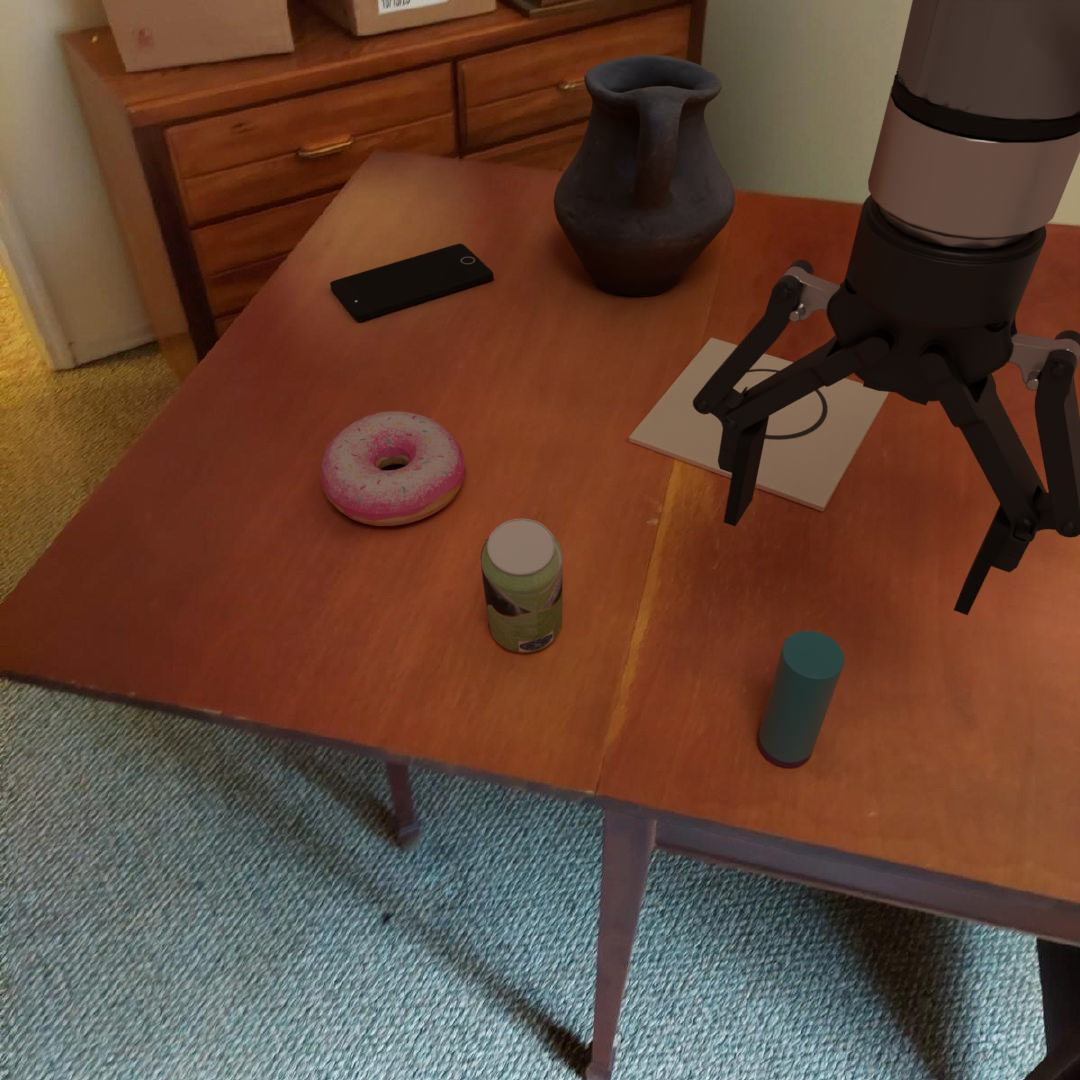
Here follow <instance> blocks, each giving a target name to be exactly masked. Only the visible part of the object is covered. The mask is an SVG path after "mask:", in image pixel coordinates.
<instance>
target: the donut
mask: <svg viewBox="0 0 1080 1080" xmlns="http://www.w3.org/2000/svg"><path fill="white" fill-rule="evenodd" d="M464 455H465V453H463V450H462V448H461V446H460V443H459V442H458V441H457V440H456V438H455V437H454V436H453V434H452V433H451V432H450V430H449V429H448V428H446V427H445V426H444V425H443V424H442V423H440V422H439V421H437V420H435V419H433V418H430V417H428V416H425V415H422V414H419V413H414V412H409V411H400V410H399V411H398V410H391V411H390V410H389V411H381V412H377V413H372V414H369V415H367V416H365V417H362V418H359V419H357V420H356V421H354V422H352V423H350V424H349V425H347V426H346V427H344V428H343V429H341V430H340V431H339V432H338V433H337V434H336V435H335V436H334V437H333V438H332V439H331V441H330V442H329V443H328V444H327V445H326V448H325V450H324V453H323V455H322V457H321V461H320V465H319V476H320V477H319V478H320V483H321V487H322V490H323V492H324V494H325V496H326V498H327V499H328V501H329V502H330V503H331V504H332V505H333V506H334V507H335V508H336V509H337V510H338V511H339V512H340V513H341V514H343V515H345V516H346V517H348V518H349V519H351V520H354V521H356V522H359V523H361V524H365V525H371V526H376V527H393V526H401V525H406V524H410V523H414V522H417V521H420V520H423V519H425V518H427V517H430V516H432V515H435V514H436V513H438V512H439V511H440V510H442V509H443V508H445V507H447V505H448V504H449V503H451V502H452V500H454V498H455V496H456V495H457V493H458V492H459V490H460V489H461V486H462V485H463V483H464V480H465V475H466V463H465V456H464ZM394 465H404V466H403V467H400V468H397V469H390V470H383V468H385V467H388V466H394Z"/></svg>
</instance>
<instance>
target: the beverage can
mask: <svg viewBox="0 0 1080 1080" xmlns="http://www.w3.org/2000/svg"><path fill="white" fill-rule="evenodd" d="M562 549H563V548H562V547H561V544H560V542H559V541H558V539H557V537H556V536H555V535H554V534H553V533H552V532H551V531H550V530H549V528H547V527H546V526H545V525H544V524H542V523H541V522H539V521H537V520H534V519H529V518H514V519H509V520H507V521H504V522H503V523H501V524H499V525H498V526H497V527H496V528H494V529H493V531H492V532H491V533H490V535H489V536H488V537H487V539H486V540H485V542H484V544H483V546H482V549H481V551H480V567H481V576H482V584H483V592H484V600H485V609H486V617H487V626H488V630H489V632H490V635H491V637H492V638H493V639H494V641H495V642H496V644H499V645H500V646H501V647H502V648H504V649H506V650H508V651H510V652H513V653H519V654H529V653H530V654H531V653H536V652H539V651H541V650H543V649H546V648H547V647H548V646H550V645H551V644H552V643H553V642H554V641H555V640H556V639H557V638H558V636H559V634H560V632H561V629H562V626H563V579H564V578H563V577H564V576H563V572H564V571H563V570H564V569H563V567H564V564H563V559H564V557H563V550H562Z"/></svg>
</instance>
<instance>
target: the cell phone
mask: <svg viewBox="0 0 1080 1080" xmlns="http://www.w3.org/2000/svg"><path fill="white" fill-rule="evenodd" d="M494 279H495V278H494V272H493V270H492V269H490V268H489V267H488V266H487V265H486V264H485V263H484V262H483V261H482V260H481V259H480V258H479V257H478V256H476V254H475V253H474V252H473V251H471V249H469V248H468V247H467V246H466V245H465V244H463V243H456V244H452V245H449V246H445V247H441V248H439V249H435V250H432V251H428V252H425V253H422V254H419V255H415V256H412V257H409V258H408V257H407V258H405V259H401V260H398V261H394V262H390V263H387V264H385V265H382V266H377V267H373V268H370V269H367V270H365V271H364V270H363V271H361V272H359V273H358V272H357V273H354V274H350V275H347V276H345V277H340V278H338V279H335V280H332V281H330V282H329V285H330V286H329V287H330V290H331V292H332V293H333V294H334V295H335V297H336V298H337V299H338V300H339V301H340V303H341V304H342V306H343V307H344V308H345V309H346V310H347V311H348V312H349V314H350V315H351V316H352V317H353V319H354V320H355V321H357V322H363V321H366V320H369V319H372V318H376V317H379V316H381V315H386V314H388V313H391V312H395V311H397V310H398V311H399V310H400V309H404V308H407V307H411V306H413V305H417V304H419V303H423V302H427V301H429V300H433V299H436V298H439V297H442V296H445V295H448V294H451V293H454V292H457V291H461V290H464V289H467V288H471V287H474V286H477V285H480V284H483V283H486V282H490V281H493V280H494Z"/></svg>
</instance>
